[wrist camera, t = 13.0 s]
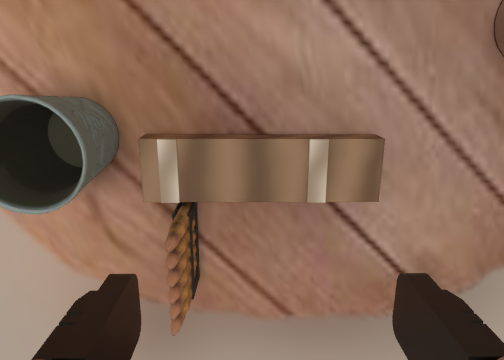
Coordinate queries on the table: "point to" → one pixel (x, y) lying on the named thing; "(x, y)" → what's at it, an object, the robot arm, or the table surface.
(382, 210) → the table surface
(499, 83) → the table surface
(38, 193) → the grey-green cup
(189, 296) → the ammunition clip
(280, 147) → the plank
